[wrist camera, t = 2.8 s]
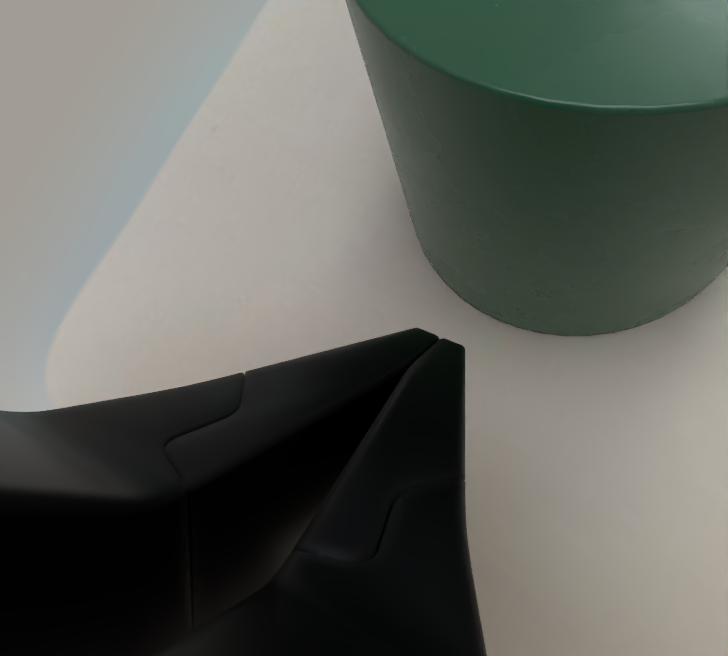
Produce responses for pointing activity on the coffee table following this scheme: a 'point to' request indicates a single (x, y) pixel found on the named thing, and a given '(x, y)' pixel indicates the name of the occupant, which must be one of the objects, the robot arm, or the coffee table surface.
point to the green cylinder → (559, 150)
